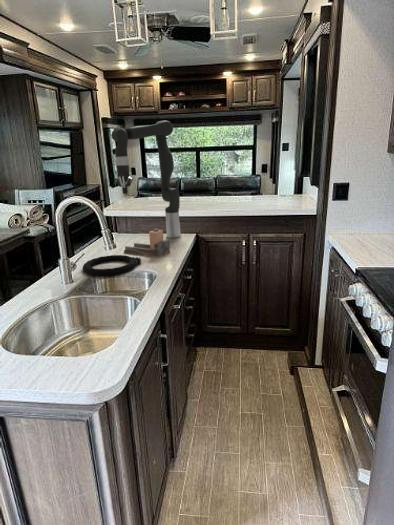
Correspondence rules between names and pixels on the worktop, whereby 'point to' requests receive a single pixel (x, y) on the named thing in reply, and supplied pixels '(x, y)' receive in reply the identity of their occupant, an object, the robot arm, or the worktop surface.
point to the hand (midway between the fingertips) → (125, 193)
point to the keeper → (155, 237)
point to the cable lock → (113, 271)
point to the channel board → (145, 249)
